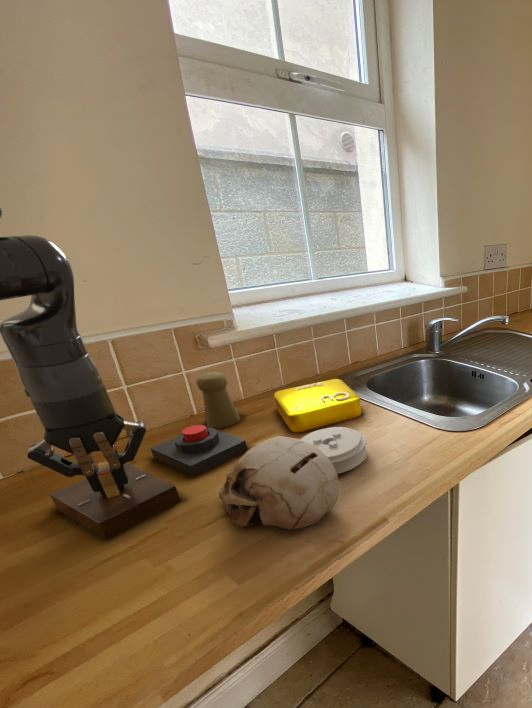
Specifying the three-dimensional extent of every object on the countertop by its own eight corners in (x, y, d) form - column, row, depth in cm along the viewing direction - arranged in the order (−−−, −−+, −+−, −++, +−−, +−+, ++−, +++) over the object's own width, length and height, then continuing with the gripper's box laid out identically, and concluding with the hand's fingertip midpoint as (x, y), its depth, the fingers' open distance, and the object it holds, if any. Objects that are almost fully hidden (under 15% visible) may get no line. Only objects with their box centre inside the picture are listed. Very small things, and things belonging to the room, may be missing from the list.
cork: (199, 424, 95) (184, 377, 90) (225, 412, 100) (212, 367, 95) (221, 430, 93) (206, 382, 88) (246, 417, 98) (234, 371, 94)
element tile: (341, 393, 112) (338, 375, 110) (364, 415, 102) (362, 396, 100) (275, 408, 103) (271, 389, 101) (293, 435, 93) (288, 414, 91)
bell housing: (153, 458, 83) (146, 439, 81) (208, 434, 91) (203, 417, 90) (194, 476, 79) (187, 457, 77) (248, 449, 87) (243, 432, 85)
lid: (287, 457, 85) (281, 434, 83) (352, 437, 93) (349, 415, 91) (308, 489, 77) (303, 465, 75) (378, 464, 85) (376, 441, 82)
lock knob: (107, 484, 71) (97, 461, 69) (119, 481, 72) (109, 458, 70) (107, 498, 68) (97, 475, 66) (119, 495, 69) (109, 472, 67)
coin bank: (233, 488, 76) (222, 420, 70) (343, 482, 82) (341, 419, 76) (203, 558, 63) (186, 480, 57) (337, 545, 68) (334, 474, 63)
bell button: (180, 439, 83) (177, 431, 82) (200, 431, 86) (198, 423, 85) (192, 444, 81) (189, 436, 81) (212, 435, 84) (210, 427, 84)
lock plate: (57, 509, 70) (48, 493, 68) (131, 476, 78) (125, 461, 77) (106, 539, 65) (98, 522, 63) (181, 500, 73) (175, 484, 71)
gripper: (129, 369, 69) (165, 463, 76) (-1, 390, 61) (53, 493, 68) (131, 386, 64) (169, 484, 71) (-11, 411, 56) (49, 520, 63)
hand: (112, 488), depth 70 cm, fingers closed
